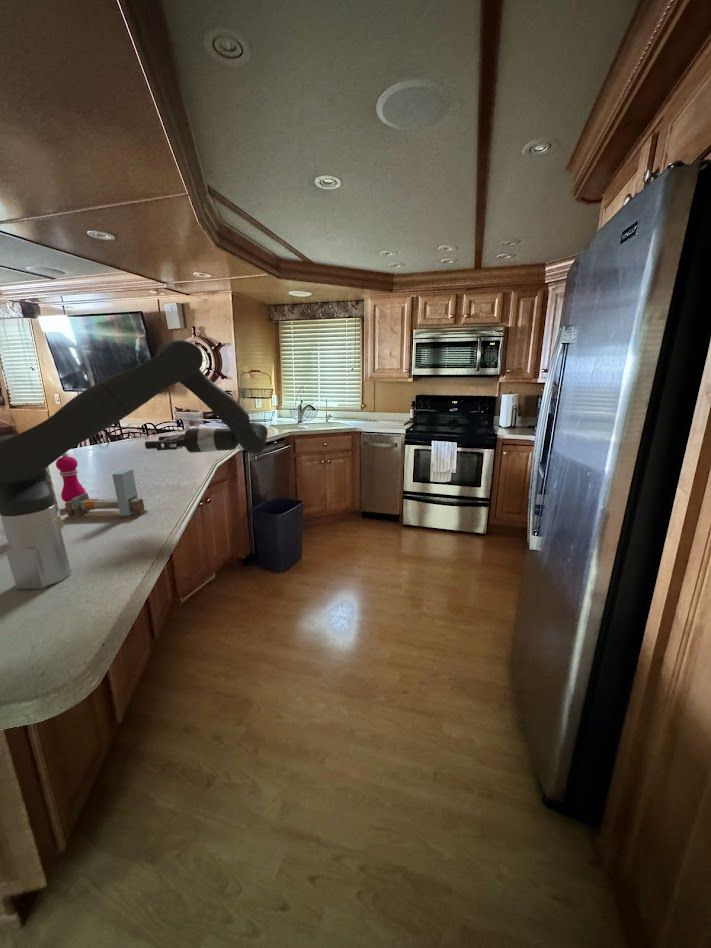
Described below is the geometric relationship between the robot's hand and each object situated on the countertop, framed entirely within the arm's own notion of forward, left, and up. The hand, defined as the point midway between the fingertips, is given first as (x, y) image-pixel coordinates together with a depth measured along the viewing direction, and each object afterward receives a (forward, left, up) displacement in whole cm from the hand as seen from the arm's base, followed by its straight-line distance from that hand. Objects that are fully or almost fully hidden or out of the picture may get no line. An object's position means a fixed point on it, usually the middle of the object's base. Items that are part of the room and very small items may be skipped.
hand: (152, 442), depth 119 cm
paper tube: (-12, +29, -25) cm, 40 cm away
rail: (0, +19, -24) cm, 31 cm away
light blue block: (0, +11, -24) cm, 27 cm away
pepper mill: (+9, +36, -25) cm, 45 cm away
